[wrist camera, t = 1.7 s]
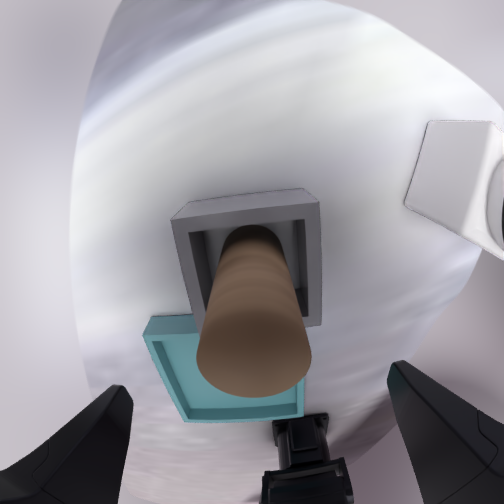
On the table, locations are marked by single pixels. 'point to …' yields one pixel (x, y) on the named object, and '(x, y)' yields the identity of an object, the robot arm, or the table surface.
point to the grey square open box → (252, 213)
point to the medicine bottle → (462, 181)
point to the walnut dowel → (253, 320)
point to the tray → (201, 391)
